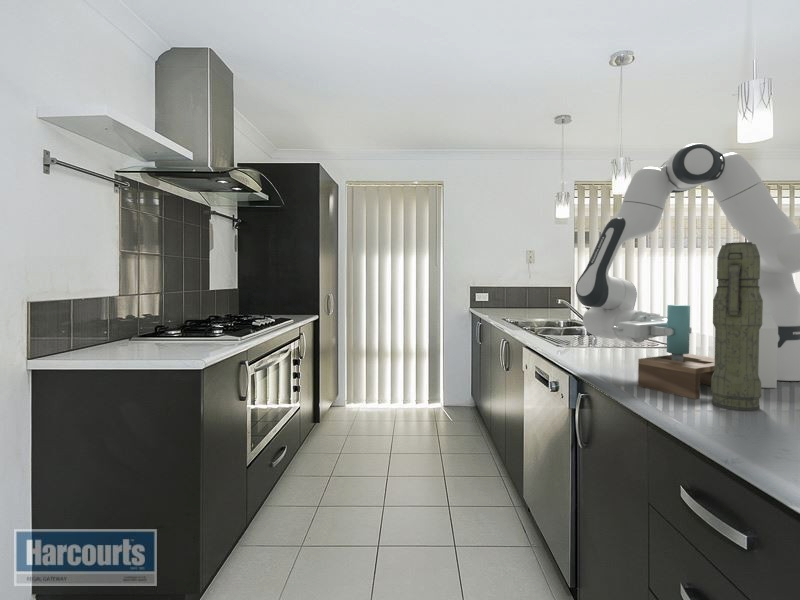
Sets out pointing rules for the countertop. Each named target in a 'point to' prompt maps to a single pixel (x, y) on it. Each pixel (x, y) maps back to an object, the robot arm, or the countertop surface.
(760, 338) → the milk carton
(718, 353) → the thermos
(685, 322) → the teal necked cylinder
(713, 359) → the keyhole bridge
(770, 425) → the countertop surface
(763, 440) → the countertop surface
